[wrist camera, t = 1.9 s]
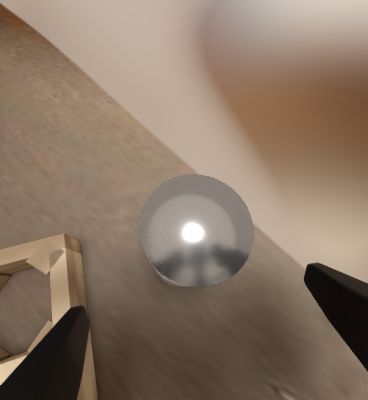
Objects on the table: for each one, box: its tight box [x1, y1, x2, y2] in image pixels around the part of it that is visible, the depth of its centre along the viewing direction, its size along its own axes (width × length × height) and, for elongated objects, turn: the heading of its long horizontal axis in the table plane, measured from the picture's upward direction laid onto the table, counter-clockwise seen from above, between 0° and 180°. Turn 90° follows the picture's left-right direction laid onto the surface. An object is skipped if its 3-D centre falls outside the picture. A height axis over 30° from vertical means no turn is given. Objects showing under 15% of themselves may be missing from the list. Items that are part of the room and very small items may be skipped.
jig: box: [0, 234, 98, 400], centre depth 13 cm, size 16×8×3 cm, turn 17°
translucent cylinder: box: [139, 175, 254, 287], centre depth 13 cm, size 4×4×11 cm
